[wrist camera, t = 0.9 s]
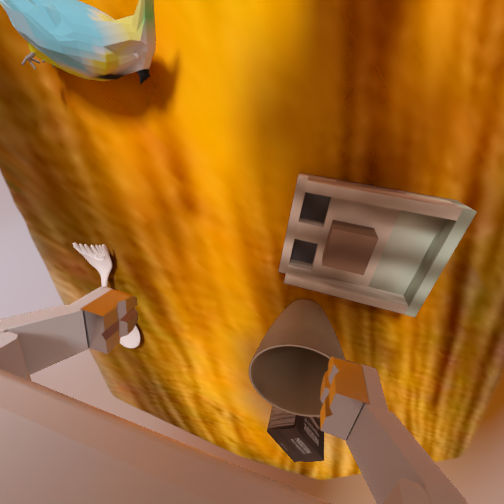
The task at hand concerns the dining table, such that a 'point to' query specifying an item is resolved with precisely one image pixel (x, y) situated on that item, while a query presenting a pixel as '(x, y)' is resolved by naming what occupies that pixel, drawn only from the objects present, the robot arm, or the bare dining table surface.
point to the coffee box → (297, 435)
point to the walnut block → (349, 247)
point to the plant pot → (295, 359)
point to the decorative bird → (86, 37)
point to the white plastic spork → (106, 280)
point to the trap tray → (388, 245)
